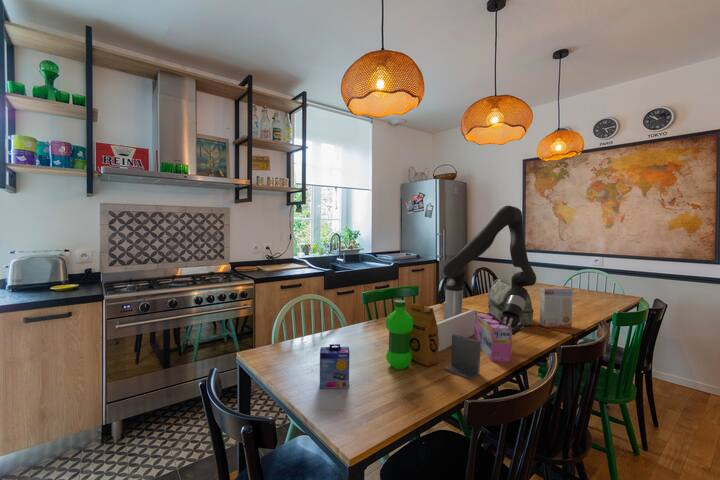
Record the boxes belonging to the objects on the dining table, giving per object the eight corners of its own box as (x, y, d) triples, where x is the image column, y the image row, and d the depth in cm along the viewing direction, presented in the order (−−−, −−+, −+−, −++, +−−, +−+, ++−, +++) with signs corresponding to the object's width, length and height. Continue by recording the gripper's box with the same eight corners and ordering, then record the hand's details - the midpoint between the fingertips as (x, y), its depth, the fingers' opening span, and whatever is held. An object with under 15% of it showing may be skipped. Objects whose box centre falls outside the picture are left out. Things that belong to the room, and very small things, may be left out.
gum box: (472, 340, 155) (473, 311, 154) (489, 340, 155) (490, 311, 154) (491, 361, 131) (492, 327, 130) (511, 362, 131) (512, 328, 130)
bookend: (444, 370, 123) (445, 338, 122) (453, 364, 128) (453, 334, 127) (471, 379, 116) (471, 345, 115) (479, 373, 120) (480, 341, 120)
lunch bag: (484, 313, 201) (484, 277, 200) (514, 314, 201) (515, 278, 200) (501, 327, 175) (502, 286, 174) (536, 327, 175) (537, 286, 174)
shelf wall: (427, 354, 137) (427, 326, 137) (472, 332, 165) (473, 309, 165) (430, 356, 136) (430, 327, 135) (475, 333, 164) (475, 309, 164)
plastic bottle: (406, 374, 119) (407, 305, 118) (380, 367, 125) (381, 301, 123) (417, 364, 127) (418, 300, 126) (392, 358, 133) (393, 297, 132)
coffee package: (425, 369, 124) (426, 310, 123) (402, 358, 134) (403, 304, 133) (443, 362, 129) (444, 307, 128) (419, 352, 140) (420, 300, 138)
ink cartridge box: (319, 389, 108) (319, 345, 107) (319, 381, 113) (320, 339, 113) (349, 388, 109) (349, 345, 108) (348, 380, 114) (349, 339, 114)
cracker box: (565, 325, 179) (567, 286, 178) (571, 328, 173) (573, 289, 172) (538, 324, 181) (540, 286, 180) (543, 327, 175) (545, 288, 174)
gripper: (497, 300, 153) (484, 332, 144) (527, 305, 143) (516, 340, 135) (501, 309, 157) (489, 341, 148) (531, 315, 147) (520, 349, 139)
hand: (502, 341), depth 142 cm, fingers closed
